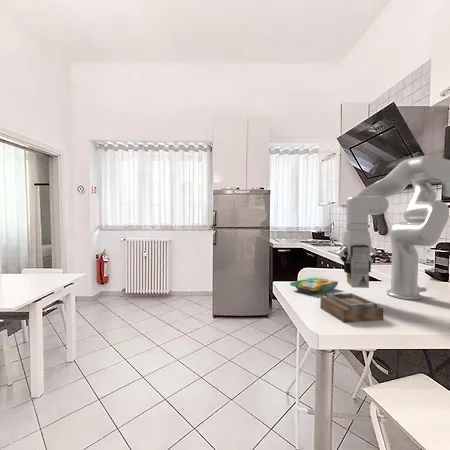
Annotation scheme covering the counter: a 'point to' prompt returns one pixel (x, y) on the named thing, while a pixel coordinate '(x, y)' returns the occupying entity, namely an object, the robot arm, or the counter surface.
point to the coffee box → (359, 267)
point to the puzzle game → (314, 285)
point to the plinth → (351, 308)
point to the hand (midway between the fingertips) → (357, 271)
